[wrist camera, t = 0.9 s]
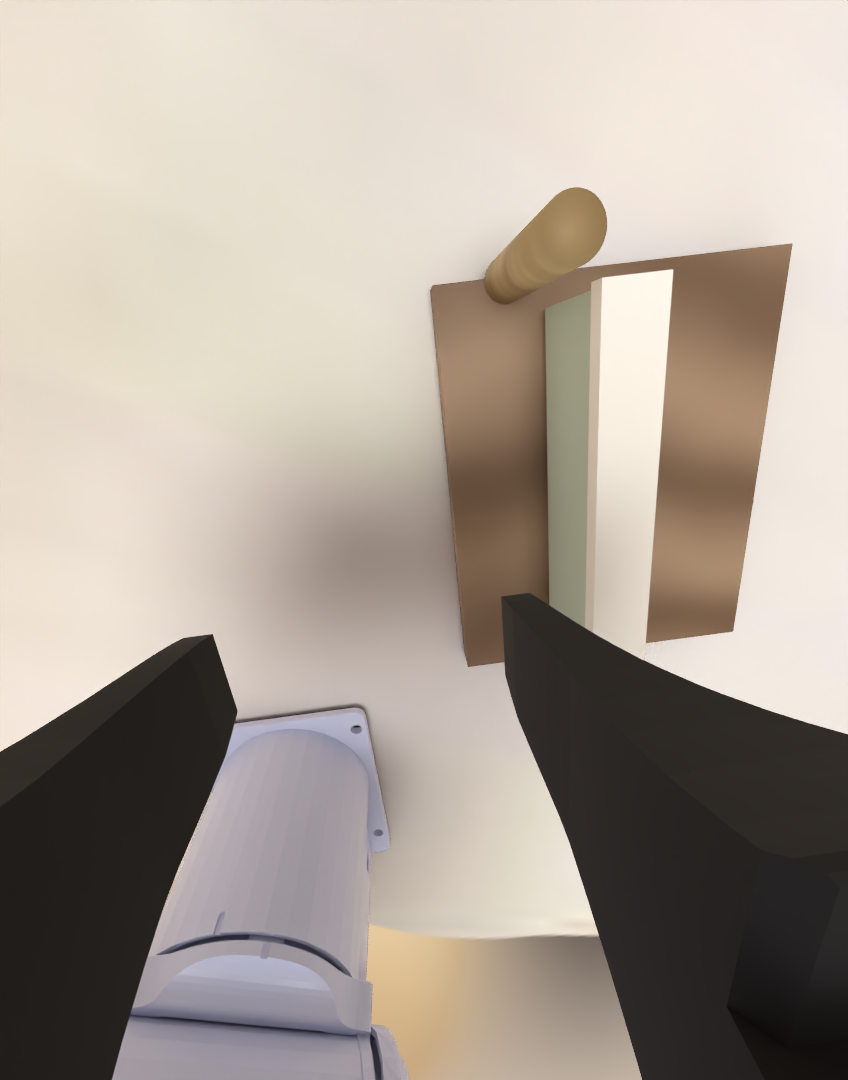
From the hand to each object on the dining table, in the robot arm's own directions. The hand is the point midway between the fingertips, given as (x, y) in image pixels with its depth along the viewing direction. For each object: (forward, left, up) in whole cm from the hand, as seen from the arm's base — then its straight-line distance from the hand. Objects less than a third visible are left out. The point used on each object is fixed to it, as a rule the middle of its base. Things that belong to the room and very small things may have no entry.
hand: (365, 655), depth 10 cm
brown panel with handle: (+1, -9, -9) cm, 13 cm away
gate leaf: (+1, -7, -8) cm, 11 cm away
